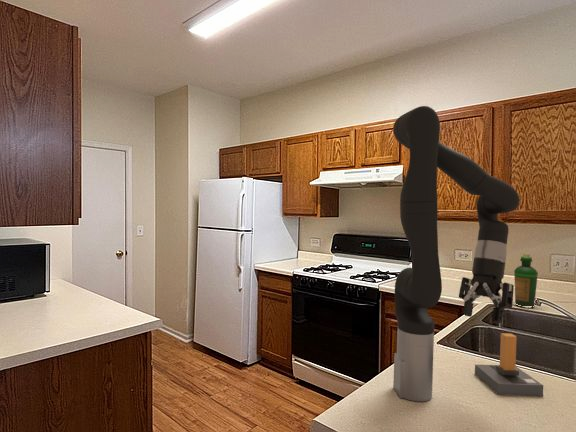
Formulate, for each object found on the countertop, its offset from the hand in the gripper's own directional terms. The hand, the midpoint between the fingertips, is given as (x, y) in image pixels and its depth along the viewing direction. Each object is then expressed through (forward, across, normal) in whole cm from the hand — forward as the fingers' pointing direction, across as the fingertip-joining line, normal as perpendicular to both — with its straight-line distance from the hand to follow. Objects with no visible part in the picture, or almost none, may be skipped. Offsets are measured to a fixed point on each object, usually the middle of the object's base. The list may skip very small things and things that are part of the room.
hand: (481, 319), depth 96 cm
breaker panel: (+16, -4, +18) cm, 25 cm away
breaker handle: (+13, -4, +18) cm, 22 cm away
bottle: (-10, -63, +109) cm, 127 cm away
